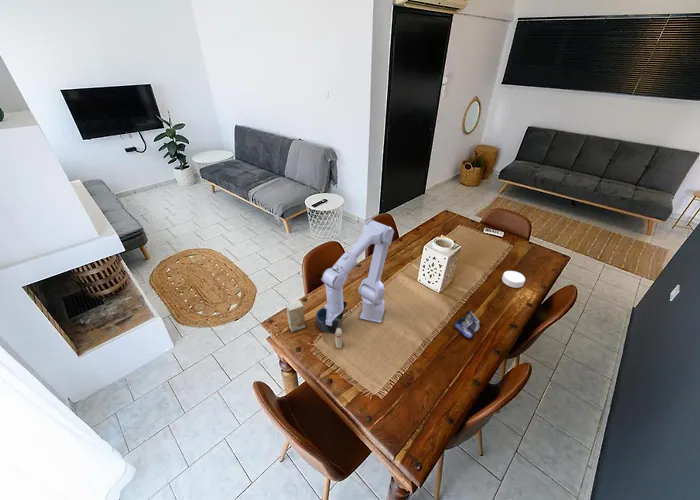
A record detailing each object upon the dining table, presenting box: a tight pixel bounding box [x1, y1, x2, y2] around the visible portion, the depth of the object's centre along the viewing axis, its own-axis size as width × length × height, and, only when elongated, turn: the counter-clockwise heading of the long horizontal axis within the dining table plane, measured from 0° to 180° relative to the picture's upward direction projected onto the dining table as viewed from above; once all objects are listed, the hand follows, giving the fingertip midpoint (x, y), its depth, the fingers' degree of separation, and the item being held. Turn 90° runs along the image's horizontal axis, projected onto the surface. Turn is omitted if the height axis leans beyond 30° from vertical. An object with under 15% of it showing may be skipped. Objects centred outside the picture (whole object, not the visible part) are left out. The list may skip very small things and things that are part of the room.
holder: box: [315, 306, 341, 333], centre depth 128 cm, size 10×10×5 cm
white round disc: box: [501, 270, 526, 289], centre depth 150 cm, size 10×10×4 cm
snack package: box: [453, 309, 481, 340], centre depth 124 cm, size 12×6×12 cm
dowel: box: [334, 327, 343, 349], centre depth 117 cm, size 3×3×8 cm
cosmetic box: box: [285, 299, 306, 333], centre depth 124 cm, size 6×4×12 cm
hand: (336, 325), depth 115 cm, fingers open, 7 cm apart
